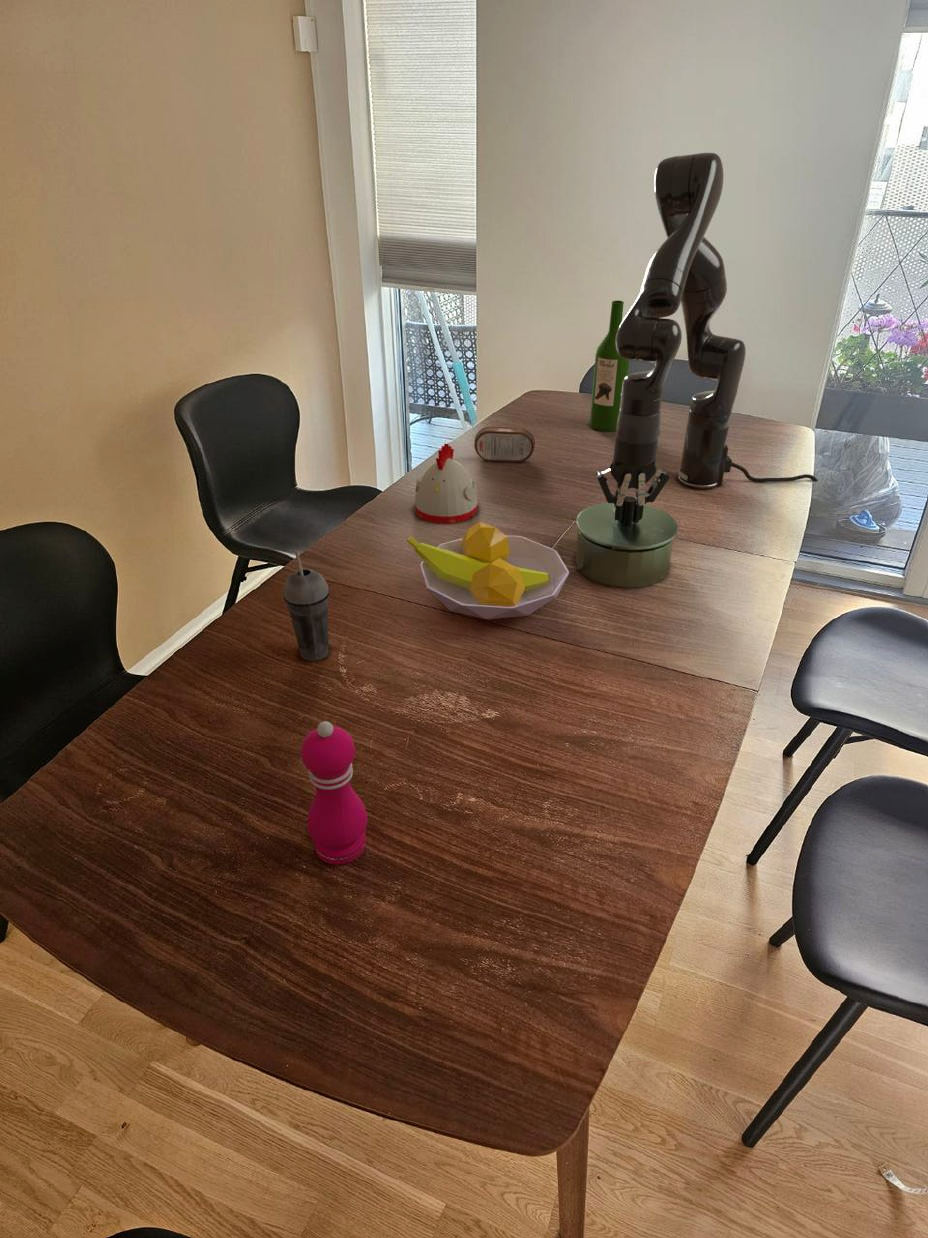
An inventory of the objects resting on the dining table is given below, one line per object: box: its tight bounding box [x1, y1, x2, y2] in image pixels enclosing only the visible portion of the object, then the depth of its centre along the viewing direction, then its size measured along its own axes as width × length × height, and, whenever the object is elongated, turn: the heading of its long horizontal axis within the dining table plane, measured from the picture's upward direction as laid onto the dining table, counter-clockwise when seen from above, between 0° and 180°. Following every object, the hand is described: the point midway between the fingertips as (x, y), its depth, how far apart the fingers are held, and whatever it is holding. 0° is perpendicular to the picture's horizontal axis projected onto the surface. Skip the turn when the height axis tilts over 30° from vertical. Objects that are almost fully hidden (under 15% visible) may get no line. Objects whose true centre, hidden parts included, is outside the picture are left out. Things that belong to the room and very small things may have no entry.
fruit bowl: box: [406, 521, 570, 620], centre depth 146 cm, size 28×27×11 cm
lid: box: [575, 495, 679, 551], centre depth 152 cm, size 19×19×6 cm
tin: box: [473, 426, 536, 463], centre depth 199 cm, size 15×3×8 cm, turn 84°
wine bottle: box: [589, 300, 630, 432], centre depth 212 cm, size 9×9×32 cm
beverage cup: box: [283, 549, 331, 662], centre depth 128 cm, size 7×7×20 cm
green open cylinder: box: [575, 529, 675, 589], centre depth 156 cm, size 18×18×8 cm
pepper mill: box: [300, 720, 369, 866], centre depth 94 cm, size 7×7×20 cm
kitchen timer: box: [414, 443, 479, 525], centre depth 174 cm, size 14×14×15 cm
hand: (626, 520), depth 153 cm, fingers closed on lid, 2 cm apart
